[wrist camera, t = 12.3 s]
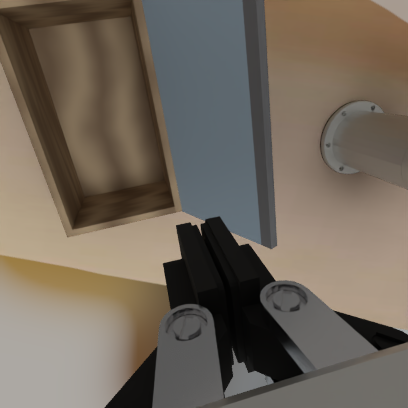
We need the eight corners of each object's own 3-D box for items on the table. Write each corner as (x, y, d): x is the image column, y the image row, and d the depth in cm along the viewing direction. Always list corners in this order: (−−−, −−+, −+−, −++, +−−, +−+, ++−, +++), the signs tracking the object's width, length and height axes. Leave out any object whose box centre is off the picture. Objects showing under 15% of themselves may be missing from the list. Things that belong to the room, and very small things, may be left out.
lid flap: (138, -19, 28) (145, -18, 29) (182, 211, 38) (187, 208, 38) (250, -93, 18) (259, -91, 18) (271, 249, 28) (276, 245, 28)
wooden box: (135, 9, 39) (138, -18, 28) (170, 182, 49) (182, 210, 38) (21, 23, 37) (-23, -1, 26) (81, 201, 47) (67, 237, 36)
